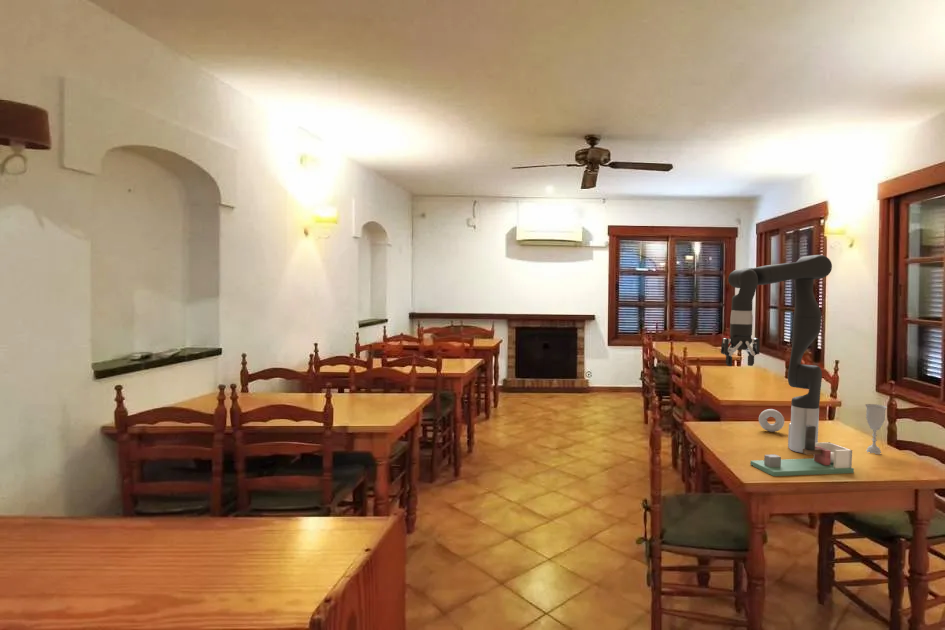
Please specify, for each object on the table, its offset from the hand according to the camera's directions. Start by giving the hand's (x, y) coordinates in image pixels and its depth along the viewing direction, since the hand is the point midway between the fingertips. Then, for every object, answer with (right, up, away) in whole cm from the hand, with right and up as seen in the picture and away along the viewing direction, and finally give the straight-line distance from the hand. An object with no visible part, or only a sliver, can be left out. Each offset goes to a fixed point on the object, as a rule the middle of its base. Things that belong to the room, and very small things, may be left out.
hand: (739, 365), depth 212 cm
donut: (+30, -32, +35) cm, 56 cm away
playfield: (+13, -34, -16) cm, 40 cm away
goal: (+25, -33, -15) cm, 44 cm away
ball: (+25, -31, -15) cm, 42 cm away
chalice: (+54, -34, +5) cm, 64 cm away
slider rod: (+18, -32, -16) cm, 40 cm away
